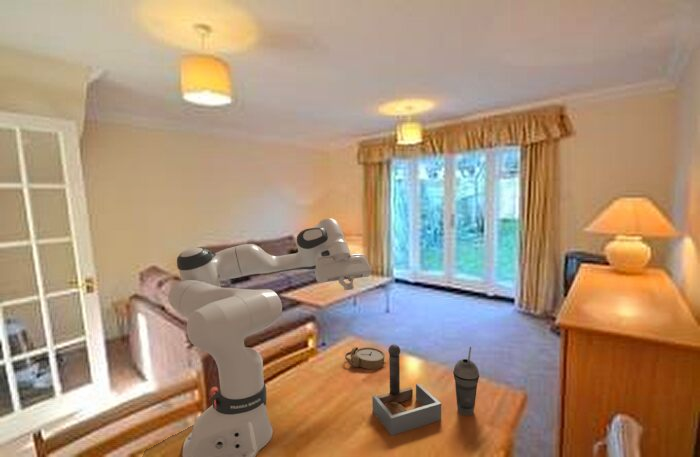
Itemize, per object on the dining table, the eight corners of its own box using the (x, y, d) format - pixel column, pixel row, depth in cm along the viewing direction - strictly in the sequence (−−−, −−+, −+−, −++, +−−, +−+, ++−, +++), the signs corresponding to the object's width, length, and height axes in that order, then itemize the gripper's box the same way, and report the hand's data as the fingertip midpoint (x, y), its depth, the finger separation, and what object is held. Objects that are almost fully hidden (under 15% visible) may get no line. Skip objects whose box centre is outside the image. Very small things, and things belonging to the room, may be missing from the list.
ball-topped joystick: (380, 410, 106) (379, 351, 104) (374, 403, 109) (373, 346, 107) (414, 400, 111) (414, 343, 109) (408, 394, 114) (408, 339, 112)
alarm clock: (387, 361, 130) (346, 356, 130) (384, 374, 131) (344, 368, 130) (383, 348, 142) (346, 342, 141) (381, 359, 142) (344, 354, 142)
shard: (417, 426, 100) (417, 420, 100) (393, 434, 97) (393, 428, 97) (397, 405, 110) (397, 399, 110) (375, 411, 107) (375, 405, 107)
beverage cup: (460, 400, 111) (461, 338, 108) (483, 410, 105) (484, 345, 103) (448, 411, 106) (448, 346, 103) (471, 422, 100) (472, 354, 98)
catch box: (391, 435, 96) (391, 418, 95) (372, 411, 106) (372, 395, 106) (441, 419, 102) (441, 403, 101) (418, 398, 112) (418, 383, 112)
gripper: (362, 258, 137) (373, 289, 129) (310, 263, 129) (319, 297, 122) (366, 248, 132) (379, 280, 125) (313, 253, 125) (323, 288, 117)
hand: (349, 289), depth 123 cm, fingers closed
